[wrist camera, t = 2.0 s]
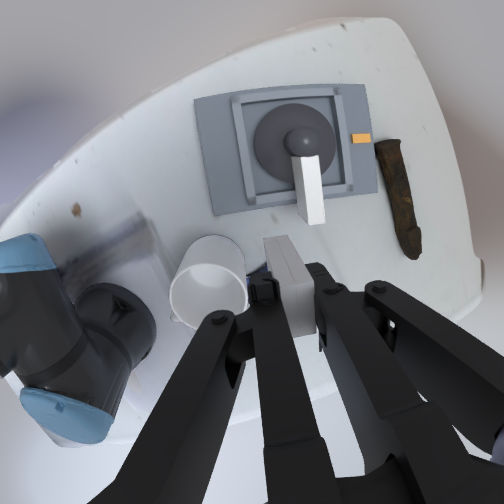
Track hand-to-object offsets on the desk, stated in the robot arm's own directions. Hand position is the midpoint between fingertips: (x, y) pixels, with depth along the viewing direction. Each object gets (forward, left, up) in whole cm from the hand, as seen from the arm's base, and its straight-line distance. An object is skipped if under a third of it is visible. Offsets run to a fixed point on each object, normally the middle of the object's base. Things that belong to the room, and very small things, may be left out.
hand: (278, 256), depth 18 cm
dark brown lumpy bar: (+21, -3, -21) cm, 30 cm away
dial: (+5, +5, -17) cm, 19 cm away
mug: (-9, -9, -21) cm, 24 cm away
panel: (+5, +7, -20) cm, 22 cm away
